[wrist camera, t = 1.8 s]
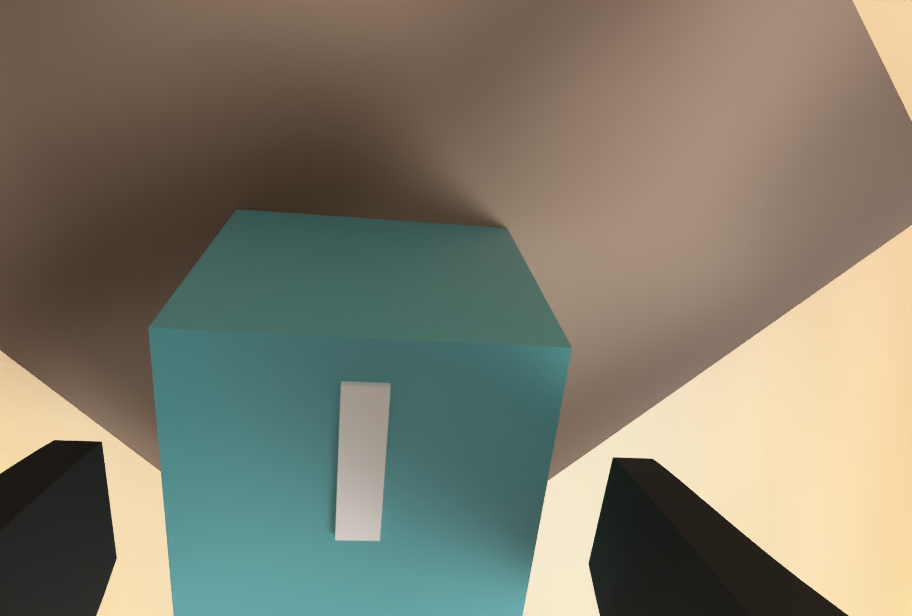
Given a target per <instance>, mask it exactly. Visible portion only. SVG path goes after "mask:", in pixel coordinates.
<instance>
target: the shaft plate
mask: <svg viewBox="0 0 912 616" xmlns="http://www.w3.org/2000/svg"><path fill="white" fill-rule="evenodd" d="M236 209H240V210H255V211H269V212H283V213H298V214H312V215H326V216H341V217H355V218H370V219H384V220H398V221H413V222H427V223H441V224H456V225H470V226H485V227H499V228H507V229H508V230H509V232H510V234H511V236H512V238H513V240H514V241H515V243H516V245H517V247H518V249H519V251H520V253H521V254H522V256H523V258H524V260H525V262H526V264H527V265H528V267H529V269H530V271H531V273H532V275H533V277H534V278H535V280H536V282H537V284H538V286H539V288H540V289H541V291H542V293H543V295H544V297H545V299H546V300H547V302H548V304H549V306H550V308H551V310H552V312H553V313H554V315H555V317H556V319H557V321H558V323H559V324H560V326H561V328H562V330H563V332H564V334H565V336H566V337H567V339H568V341H569V343H570V345H571V347H572V352H571V357H570V363H569V368H568V374H567V379H566V384H565V390H564V395H563V400H562V406H561V411H560V416H559V422H558V427H557V432H556V438H555V443H554V448H553V454H552V459H551V465H550V470H549V475H548V480H549V479H551V478H552V477H554V476H555V475H556V474H558V473H559V472H561V471H562V470H564V469H565V468H566V467H568V466H569V465H571V464H572V463H573V462H575V461H576V460H578V459H579V458H581V457H582V456H583V455H585V454H586V453H588V452H589V451H591V450H592V449H593V448H595V447H596V446H598V445H599V444H601V443H602V442H603V441H605V440H606V439H608V438H609V437H610V436H612V435H613V434H615V433H616V432H618V431H619V430H620V429H622V428H623V427H625V426H626V425H628V424H629V423H630V422H632V421H633V420H635V419H636V418H638V417H639V416H640V415H642V414H643V413H645V412H646V411H647V410H649V409H650V408H652V407H653V406H655V405H656V404H657V403H659V402H660V401H662V400H663V399H665V398H666V397H667V396H669V395H670V394H672V393H673V392H675V391H676V390H677V389H679V388H680V387H682V386H683V385H684V384H686V383H687V382H689V381H690V380H692V379H693V378H694V377H696V376H697V375H699V374H700V373H702V372H703V371H704V370H706V369H707V368H709V367H710V366H712V365H713V364H714V363H716V362H717V361H719V360H720V359H722V358H723V357H724V356H726V355H727V354H729V353H730V352H731V351H733V350H734V349H736V348H737V347H739V346H740V345H741V344H743V343H744V342H746V341H747V340H749V339H750V338H751V337H753V336H754V335H756V334H757V333H759V332H760V331H761V330H763V329H764V328H766V327H767V326H768V325H770V324H771V323H773V322H774V321H776V320H777V319H778V318H780V317H781V316H783V315H784V314H786V313H787V312H788V311H790V310H791V309H793V308H794V307H796V306H797V305H798V304H800V303H801V302H803V301H804V300H805V299H807V298H808V297H810V296H811V295H813V294H814V293H815V292H817V291H818V290H820V289H821V288H823V287H824V286H825V285H827V284H828V283H830V282H831V281H833V280H834V279H835V278H837V277H838V276H840V275H841V274H842V273H844V272H845V271H847V270H848V269H850V268H851V267H852V266H854V265H855V264H857V263H858V262H860V261H861V260H862V259H864V258H865V257H867V256H868V255H870V254H871V253H872V252H874V251H875V250H877V249H878V248H879V247H881V246H882V245H884V244H885V243H887V242H888V241H889V240H891V239H892V238H894V237H895V236H897V235H898V234H899V233H901V232H902V231H904V230H905V229H907V228H908V227H909V226H911V225H912V121H911V119H910V117H909V115H908V113H907V111H906V109H905V107H904V105H903V103H902V101H901V99H900V97H899V95H898V93H897V91H896V89H895V87H894V85H893V83H892V81H891V78H890V76H889V74H888V72H887V70H886V68H885V66H884V64H883V62H882V60H881V58H880V56H879V54H878V52H877V50H876V48H875V46H874V44H873V42H872V40H871V38H870V36H869V34H868V32H867V30H866V28H865V26H864V24H863V21H862V19H861V17H860V15H859V13H858V11H857V9H856V7H855V5H854V3H853V1H852V0H0V350H1V351H2V352H3V353H5V354H6V355H7V356H9V357H10V358H11V359H13V360H14V361H15V362H17V363H18V364H19V365H21V366H22V367H23V368H25V369H26V370H27V371H29V372H30V373H31V374H33V375H34V376H35V377H37V378H38V379H39V380H41V381H42V382H43V383H44V384H46V385H47V386H48V387H50V388H51V389H52V390H54V391H55V392H56V393H58V394H59V395H60V396H62V397H63V398H64V399H66V400H67V401H68V402H70V403H71V404H72V405H74V406H75V407H76V408H78V409H79V410H80V411H82V412H83V413H84V414H86V415H87V416H88V417H90V418H91V419H92V420H94V421H95V422H96V423H97V424H99V425H100V426H101V427H103V428H104V429H105V430H107V431H108V432H109V433H111V434H112V435H113V436H115V437H116V438H117V439H119V440H120V441H121V442H123V443H124V444H125V445H127V446H128V447H129V448H131V449H132V450H133V451H135V452H136V453H137V454H139V455H140V456H141V457H143V458H144V459H145V460H147V461H148V462H149V463H151V464H152V465H153V466H154V467H156V468H157V469H158V470H160V471H161V465H160V454H159V442H158V431H157V420H156V408H155V397H154V386H153V374H152V363H151V352H150V340H149V329H148V328H149V326H150V325H151V324H152V322H153V321H154V319H155V318H156V317H157V315H158V314H159V313H160V311H161V310H162V309H163V307H164V306H165V305H166V303H167V302H168V301H169V299H170V298H171V297H172V295H173V294H174V293H175V291H176V290H177V289H178V287H179V286H180V285H181V283H182V282H183V281H184V279H185V278H186V276H187V275H188V274H189V272H190V271H191V270H192V268H193V267H194V266H195V264H196V263H197V262H198V260H199V259H200V258H201V256H202V255H203V254H204V252H205V251H206V250H207V248H208V247H209V246H210V244H211V243H212V242H213V240H214V239H215V238H216V236H217V235H218V233H219V232H220V231H221V229H222V228H223V227H224V225H225V224H226V223H227V221H228V220H229V219H230V217H231V216H232V215H233V213H234V212H235V211H236Z"/></svg>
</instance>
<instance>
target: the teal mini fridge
mask: <svg viewBox="0 0 912 616" xmlns="http://www.w3.org/2000/svg"><path fill="white" fill-rule="evenodd" d="M148 329H149V340H150V352H151V363H152V374H153V386H154V397H155V408H156V420H157V431H158V442H159V454H160V465H161V476H162V488H163V499H164V510H165V522H166V533H167V544H168V556H169V567H170V579H171V590H172V601H173V613H174V616H522V614H523V609H524V604H525V598H526V593H527V588H528V582H529V577H530V572H531V566H532V561H533V556H534V550H535V545H536V540H537V534H538V529H539V523H540V518H541V513H542V507H543V502H544V497H545V491H546V486H547V481H548V475H549V470H550V465H551V459H552V454H553V448H554V443H555V438H556V432H557V427H558V422H559V416H560V411H561V406H562V400H563V395H564V390H565V384H566V379H567V374H568V368H569V363H570V357H571V352H572V347H571V345H570V343H569V341H568V339H567V337H566V336H565V334H564V332H563V330H562V328H561V326H560V324H559V323H558V321H557V319H556V317H555V315H554V313H553V312H552V310H551V308H550V306H549V304H548V302H547V300H546V299H545V297H544V295H543V293H542V291H541V289H540V288H539V286H538V284H537V282H536V280H535V278H534V277H533V275H532V273H531V271H530V269H529V267H528V265H527V264H526V262H525V260H524V258H523V256H522V254H521V253H520V251H519V249H518V247H517V245H516V243H515V241H514V240H513V238H512V236H511V234H510V232H509V230H508V229H507V228H499V227H485V226H470V225H456V224H441V223H427V222H413V221H398V220H384V219H370V218H355V217H341V216H326V215H312V214H298V213H283V212H269V211H255V210H240V209H236V211H235V212H234V213H233V215H232V216H231V217H230V219H229V220H228V221H227V223H226V224H225V225H224V227H223V228H222V229H221V231H220V232H219V233H218V235H217V236H216V238H215V239H214V240H213V242H212V243H211V244H210V246H209V247H208V248H207V250H206V251H205V252H204V254H203V255H202V256H201V258H200V259H199V260H198V262H197V263H196V264H195V266H194V267H193V268H192V270H191V271H190V272H189V274H188V275H187V276H186V278H185V279H184V281H183V282H182V283H181V285H180V286H179V287H178V289H177V290H176V291H175V293H174V294H173V295H172V297H171V298H170V299H169V301H168V302H167V303H166V305H165V306H164V307H163V309H162V310H161V311H160V313H159V314H158V315H157V317H156V318H155V319H154V321H153V322H152V324H151V325H150V326H149V328H148Z"/></svg>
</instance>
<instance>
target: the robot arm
mask: <svg viewBox="0 0 912 616" xmlns="http://www.w3.org/2000/svg"><path fill="white" fill-rule="evenodd" d="M116 559H117V557H116V549H115V541H114V534H113V526H112V518H111V510H110V502H109V495H108V487H107V479H106V471H105V463H104V455H103V448H102V442H94V441H61V440H54V441H52V442H51V443H49V444H47V445H45V446H44V447H42V448H40V449H39V450H37V451H35V452H34V453H32V454H31V455H29V456H27V457H26V458H24V459H23V460H21V461H19V462H18V463H16V464H15V465H13V466H12V467H10V468H9V469H7V470H6V471H4V472H3V473H1V474H0V616H96V615H97V612H98V609H99V607H100V604H101V601H102V599H103V596H104V593H105V590H106V587H107V584H108V582H109V579H110V576H111V573H112V570H113V567H114V564H115V561H116ZM589 568H590V572H591V577H592V582H593V586H594V591H595V596H596V600H597V604H598V609H599V613H600V616H848V615H847V614H845V613H844V612H843V611H841V610H840V609H839V608H837V607H836V606H835V605H833V604H832V603H831V602H829V601H828V600H827V599H825V598H824V597H823V596H821V595H820V594H819V593H817V592H816V591H815V590H813V589H812V588H811V587H809V586H808V585H807V584H805V583H804V582H803V581H801V580H800V579H799V578H797V577H796V576H795V575H794V574H792V573H791V572H790V571H789V570H787V569H786V568H785V567H783V566H782V565H781V564H780V563H778V562H777V561H776V560H775V559H773V558H772V557H771V556H770V555H768V554H767V553H766V552H765V551H763V550H762V549H761V548H760V547H759V546H757V545H756V544H755V543H754V542H752V541H751V540H750V539H749V538H748V537H746V536H745V535H744V534H743V533H742V532H740V531H739V530H738V529H737V528H736V527H734V526H733V525H732V524H731V523H730V522H728V521H727V520H726V519H725V518H724V517H723V516H721V515H720V514H719V513H718V512H717V511H715V510H714V509H713V508H712V507H711V506H710V505H708V504H707V503H706V502H705V501H704V500H702V499H701V498H700V497H699V496H698V495H697V494H695V493H694V492H693V491H692V490H691V489H690V488H688V487H687V486H686V485H685V484H684V483H682V482H681V481H680V480H679V479H678V478H676V477H675V476H674V475H673V474H672V473H670V472H669V471H668V470H667V469H665V468H664V467H663V466H661V465H660V464H659V463H657V462H656V461H655V460H653V459H642V458H613V460H612V464H611V469H610V473H609V477H608V482H607V486H606V490H605V495H604V499H603V503H602V508H601V512H600V517H599V521H598V525H597V530H596V534H595V538H594V543H593V547H592V551H591V556H590V560H589Z"/></svg>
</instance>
